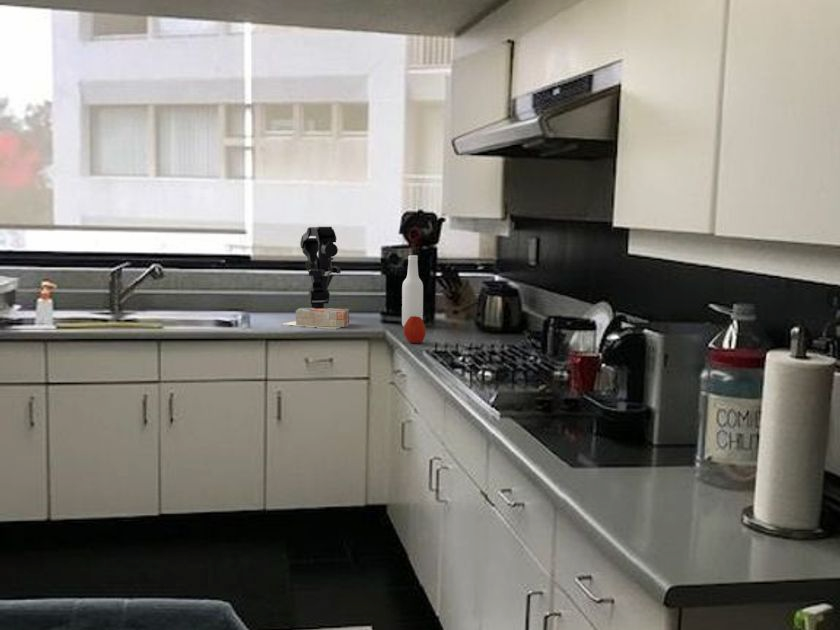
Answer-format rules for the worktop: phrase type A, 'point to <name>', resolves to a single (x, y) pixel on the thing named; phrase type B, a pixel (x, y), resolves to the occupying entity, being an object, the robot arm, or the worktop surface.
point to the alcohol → (412, 292)
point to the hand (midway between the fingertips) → (324, 290)
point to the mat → (311, 325)
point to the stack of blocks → (322, 317)
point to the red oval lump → (414, 329)
